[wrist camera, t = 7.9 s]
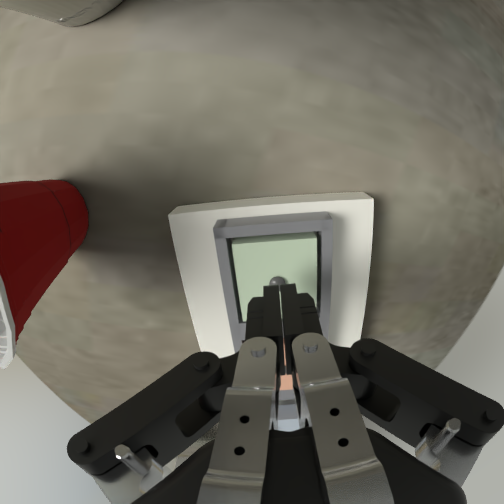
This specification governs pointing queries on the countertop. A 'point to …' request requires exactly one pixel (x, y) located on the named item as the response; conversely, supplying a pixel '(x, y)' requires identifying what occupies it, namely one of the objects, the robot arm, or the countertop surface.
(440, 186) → the countertop surface
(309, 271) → the key one
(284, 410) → the key two
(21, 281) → the plastic cup
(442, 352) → the countertop surface
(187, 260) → the keypad
